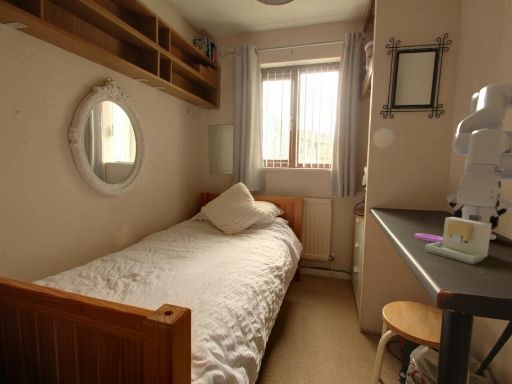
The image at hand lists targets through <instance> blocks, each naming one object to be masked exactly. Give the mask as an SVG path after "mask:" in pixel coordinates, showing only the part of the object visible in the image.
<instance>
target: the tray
mask: <svg viewBox="0 0 512 384" xmlns="http://www.w3.org/2000/svg"><path fill="white" fill-rule="evenodd" d="M424 252H426V253H430V254H433V255H437V256H440V257H444V258H448V259H451V260H455V261H459V262H461V263H466V264H468V265H474V264H477V263H480V262H483V261H484V260H485V258H486V257H485V253H482V252H481V253H478V254H475V255H473V254H470V253H466V252H462V251H458V250H454V249H450V248H446V247H442V244H441V242H436V243H435V242H431V243H428V244H425V247H424Z"/></svg>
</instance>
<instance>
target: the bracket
mask: <svg viewBox="0 0 512 384" xmlns="http://www.w3.org/2000/svg"><path fill="white" fill-rule="evenodd" d="M414 238H415V239H417V240H420V239H421V241H425V240H426V242H430V241H431V243H435V242H441V245H442V242H443V236H438V235H433V234H429V233H428V234H427V233H421V232H419V233H418V232H416V233H414Z"/></svg>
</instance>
